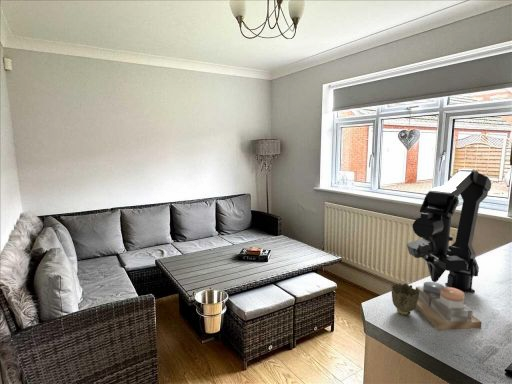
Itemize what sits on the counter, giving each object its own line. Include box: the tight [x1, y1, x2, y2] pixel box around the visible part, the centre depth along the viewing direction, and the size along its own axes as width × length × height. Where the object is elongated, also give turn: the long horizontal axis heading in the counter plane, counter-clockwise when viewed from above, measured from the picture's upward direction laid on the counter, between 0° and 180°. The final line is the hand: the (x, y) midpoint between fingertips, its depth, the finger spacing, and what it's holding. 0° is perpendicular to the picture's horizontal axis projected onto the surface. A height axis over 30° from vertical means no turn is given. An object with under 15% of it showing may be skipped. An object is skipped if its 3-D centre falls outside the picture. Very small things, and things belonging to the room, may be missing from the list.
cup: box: [391, 282, 420, 317], centre depth 90 cm, size 8×7×8 cm
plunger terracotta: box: [440, 286, 465, 309], centre depth 86 cm, size 6×6×4 cm
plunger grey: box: [422, 281, 445, 295], centre depth 94 cm, size 6×6×4 cm
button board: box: [414, 285, 483, 331], centre depth 90 cm, size 12×16×5 cm
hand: (434, 281), depth 93 cm, fingers closed
